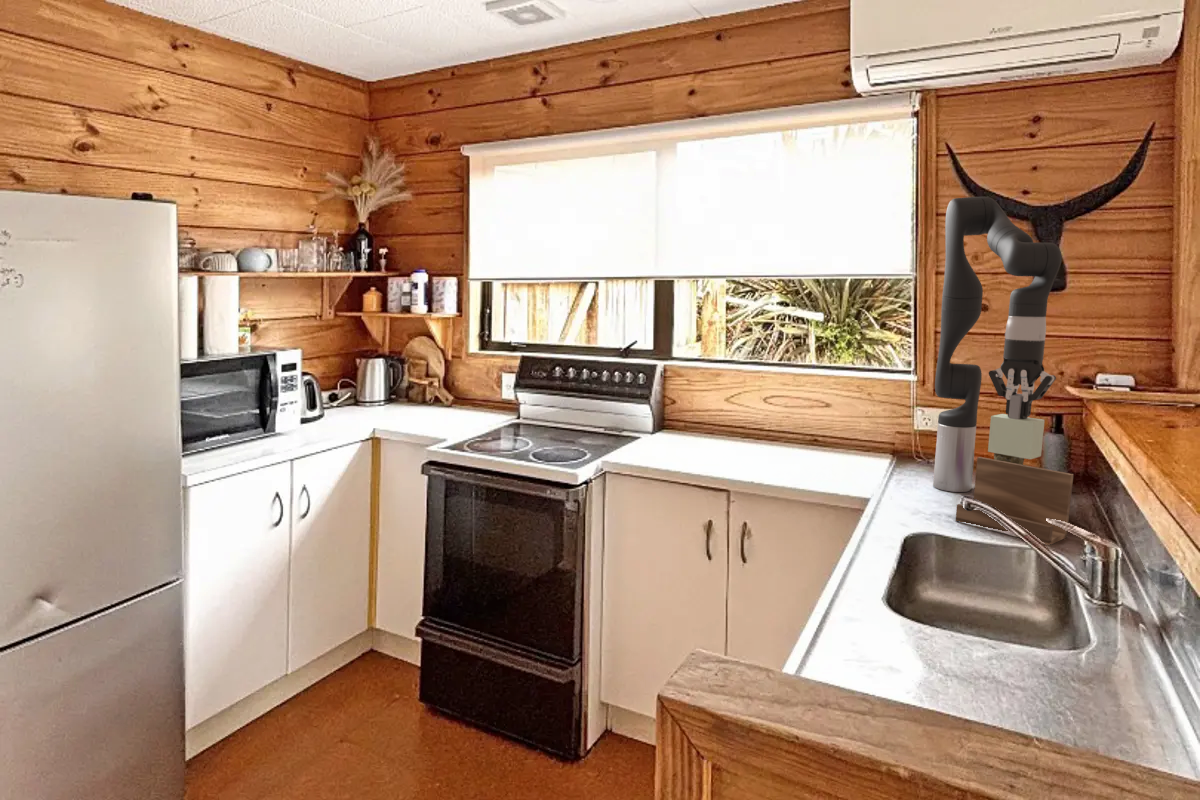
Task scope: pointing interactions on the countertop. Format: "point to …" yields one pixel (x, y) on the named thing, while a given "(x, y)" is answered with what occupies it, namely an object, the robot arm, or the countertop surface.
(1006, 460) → the grey-green lumpy piece
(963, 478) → the robot arm
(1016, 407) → the tab block
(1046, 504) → the wooden tablet stand
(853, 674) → the countertop surface
